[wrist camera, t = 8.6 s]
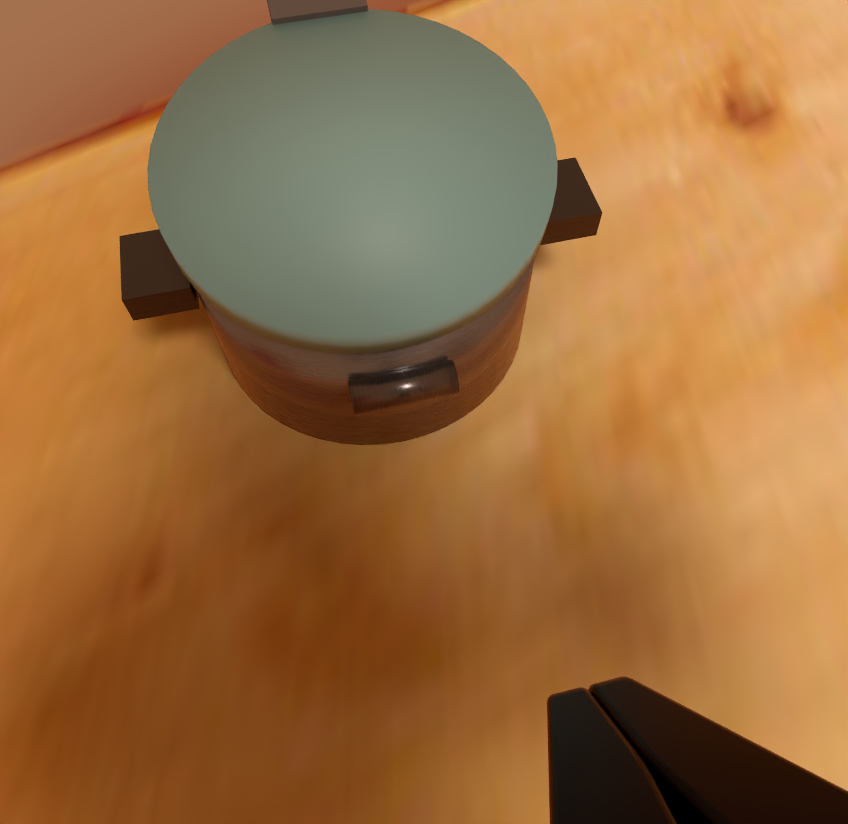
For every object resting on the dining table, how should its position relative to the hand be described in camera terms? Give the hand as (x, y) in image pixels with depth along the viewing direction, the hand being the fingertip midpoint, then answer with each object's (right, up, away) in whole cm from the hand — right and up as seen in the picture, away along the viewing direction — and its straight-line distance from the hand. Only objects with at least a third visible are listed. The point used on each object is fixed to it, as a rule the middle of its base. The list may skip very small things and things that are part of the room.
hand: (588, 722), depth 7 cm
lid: (-4, +12, +15) cm, 19 cm away
